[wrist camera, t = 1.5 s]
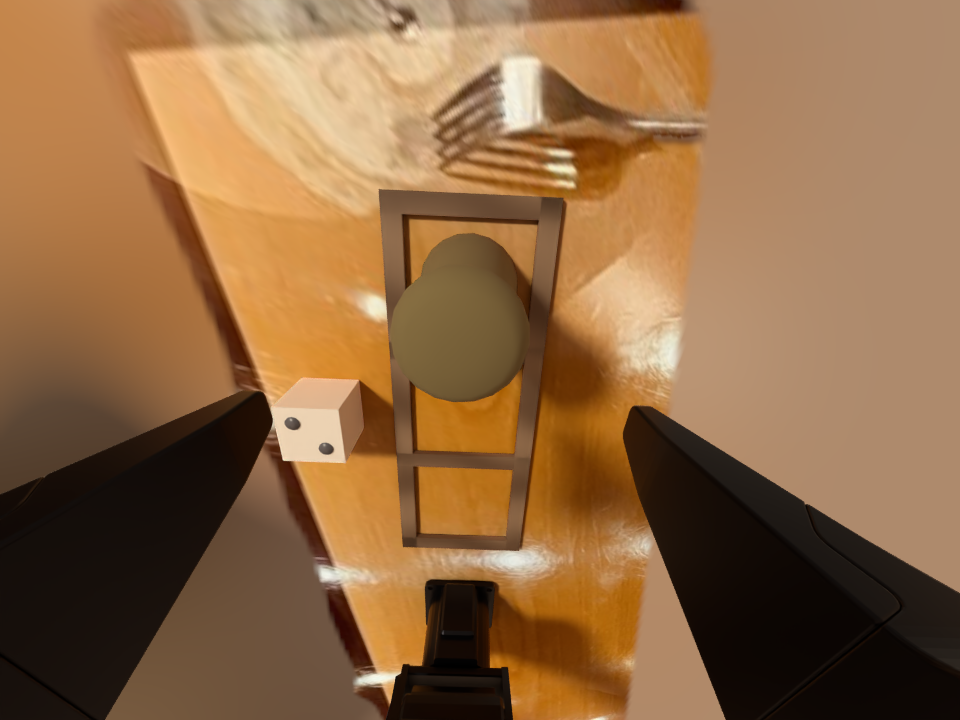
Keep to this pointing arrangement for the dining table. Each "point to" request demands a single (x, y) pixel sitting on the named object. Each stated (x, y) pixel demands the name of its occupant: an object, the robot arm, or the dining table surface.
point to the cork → (462, 321)
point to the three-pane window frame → (542, 281)
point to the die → (319, 420)
